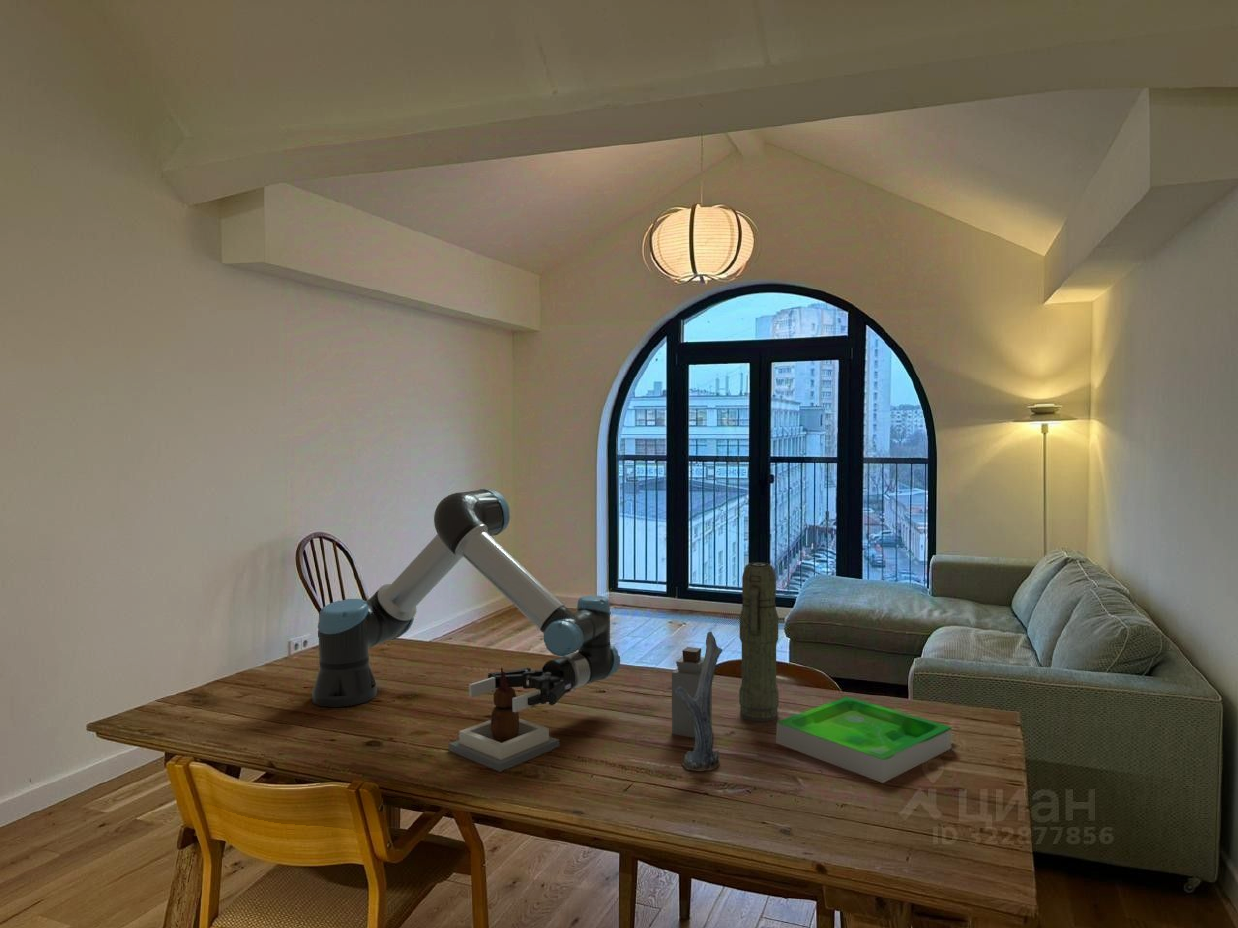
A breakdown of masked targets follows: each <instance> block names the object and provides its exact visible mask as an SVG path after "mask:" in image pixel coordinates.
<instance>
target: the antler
mask: <svg viewBox="0 0 1238 928" xmlns="http://www.w3.org/2000/svg"><path fill="white" fill-rule="evenodd" d="M706 634H707V635H706V637H705V638H706V640H705V645H706V647H705V652H704V653H705V655H704V658H705V659H704V662H703V666H702V670H701V675H700V679H699V683H698V688H697V692H696V695H695V697H694V699H693V698H692V697H691V696H689V695H688V693H687V692H686V691H685V690H684V688H683V687H681V686H679V687H677V688H676V689H675V693H676V695H677V696H678V698H679V699H680V700H682V701H683V703H685V705H686V707H687V710H688V712H689V715H690V716H691V719H692V722H693V724H694V731H695V738H694V746H693V747H694V749H693V751H691V750H688V751H686V754H685V755H684V759H683V760H684V761H683V762H682V763H681V766H683V767H684V768H685V769H686V770H690V771H691V770H692V771H695V772H696V771H697V772H703V771H712V770H715V769H716V768H717V767H718V766H719V765H720V760H719V756H720V755H719V753H720V752H719V750H715V751H713V746H714V745H713V744H714V734H713V730H712V729H713V728H711V722H710V716H711V715H710V691H711V686H712V684H713V679H714V676H715V673H716V672H715V671H716V666H717V663H718V659H719V658H720V656H721V653H722V652H723V649H722V648H721V647H719V646H718V645H717V641H716V637H715V636H714V635H713V633H712V631H708V632H707V633H706ZM712 687H713V686H712Z"/></svg>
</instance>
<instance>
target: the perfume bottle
mask: <svg viewBox="0 0 1238 928" xmlns="http://www.w3.org/2000/svg"><path fill="white" fill-rule="evenodd" d="M681 652H682V656H681V657H680V658H678V659H677V660H676V661H675V663H676V667H677V668H676V669H675V670H673V671H671V734H672V735H675V736H676V735H677V736H681V737H688V738H694V739H695V731H694V724H693V722H692V719H691V716H690V715H689V712H688V710H687V707H686V705H685V703H683V701H682V700H680V699H679V698H678V696H677V695H676V693H675V689H676V688H677V687H679V686H681V687H683V688H684V690H685V691H686V692H687V693H688V695H689V696H691V697H692V698H693V699H694V697H695V695H696V692H697V688H698V683H699V679H700V675H701V670H702V666H703V662H704V659H705V656H704V657H703V656H702V647H701V648H700V647H691V646H687V647H685V648H683V649H682V651H681ZM712 688H713V686H711V691H710V715H711V716H710V722H711V728H712V727H713V726H712V725H713V724H712V723H713V722H712V721H713V718H712V711H713V709H712V707H713V706H712V705H713V698H712V696H713V695H712V693H713V691H712V690H713V689H712ZM712 729H713V728H712Z"/></svg>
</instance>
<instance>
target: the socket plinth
mask: <svg viewBox="0 0 1238 928" xmlns="http://www.w3.org/2000/svg"><path fill="white" fill-rule="evenodd" d="M549 730H550V729H549V728H548V727H546V726H543V725H541V724H537V723H535V722H531V721H529V720H525V719H522V718H520V717H519V731H518V735H517V737H516V738H513V739H511V740H508V741H506V742H503V743H500V742H498V741H495V740H494V739H493V736H492V732H491V719H490V720H487V721H484V722H481V723H479V724H475V725H473V726H469V727H467V728H464V729H461V730H459V731H458V733H459V734H458V736H459V737H458V740H455V741H452V742H449V743H448V751H449V752H451V753H453V754H456V755H458V756H461V757H463V758H466V759H468V760H470V761H473V762H476V763H478V764H480V765H483V766H484V767H487V768H490V769H492V770H494V771H497V772H499V773H500V772H501V773H502V772H503V770H504V771H506V770H508V769H510V767H511V768H513V767H515V766H518V765H520V764H522V762H523V763H525V762H527V761H530V760H531V759H534V758H536V756H537V757H539V756H540V755H544V754H546V753H548V752H550V750H551V751H553V750H555V749H557V748H556V747H558V748H559V747H560V739H558V738H555V737H552V736H550V731H549ZM554 748H555V749H554ZM552 749H553V750H552ZM547 751H548V752H547ZM545 752H546V753H545ZM543 753H544V754H543ZM529 759H530V760H529ZM505 769H506V770H505Z"/></svg>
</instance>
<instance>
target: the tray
mask: <svg viewBox="0 0 1238 928" xmlns="http://www.w3.org/2000/svg"><path fill="white" fill-rule="evenodd" d="M776 744H778V745H781V746H783V747H786V748H788V749H791V750H794V751H797V752H799V753H801V754H804V755H807V756H810V757H812V758H814V759H818V760H821V761H822V762H826V763H827V764H831V765H834V766H836V767H839V768H841V769H843V770H846V771H849V772H852V773H855V774H858V775H860V776H863V777H866V778H868V779H870V780H874V781H877V782H880V783H882V784H884V783H886V782H889V781H890V780H892V779H894V778H896V777H898V776H900V775H901V774H904V773H906V772H907V771H909V770H911V769H914V768H916V767H918V766H920V765H921V764H924V763H926V762H928V761H930V760H931V759H933V758H935V757H937V756H939V755H941V754H943V753H945V752H947V751H949V750H950V749H952V726H949V725H945V724H943V723H939V722H935V721H933V720H928V719H926V718H921V717H918V716H915V715H911V714H908V713H904V712H901V711H899V710H895V709H891V708H888V707H885V706H881V705H878V704H874V703H871V702H869V701H868V702H867V701H863V700H861V699H858V698H854V697H850V696H844V697H842V698H839V699H836V700H833V701H831V702H828V703H825V704H823V705H820V706H816V707H814V708H812V709H809V710H805V711H803V712H801V713H797V714H795V715H792V716H789V717H786V718H784V719H781V720H778V721H776Z"/></svg>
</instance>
